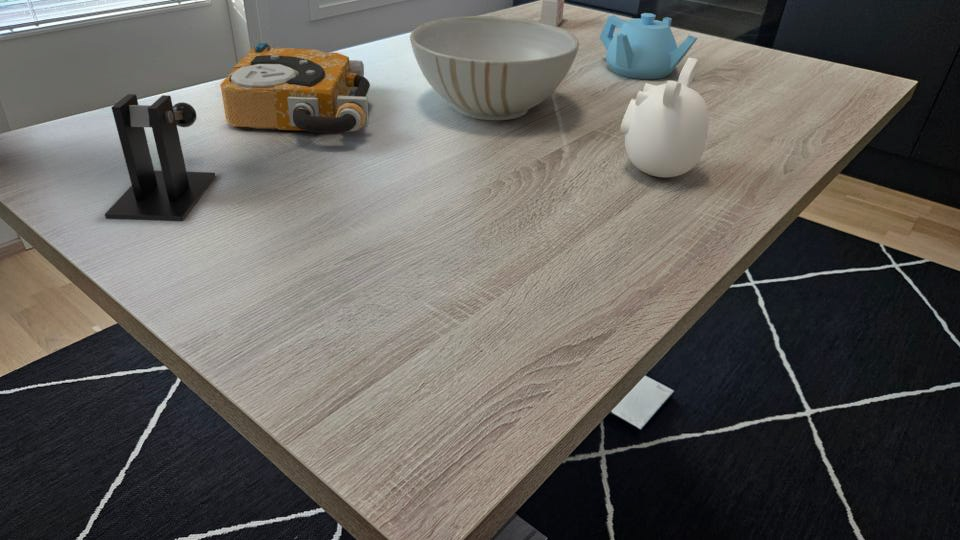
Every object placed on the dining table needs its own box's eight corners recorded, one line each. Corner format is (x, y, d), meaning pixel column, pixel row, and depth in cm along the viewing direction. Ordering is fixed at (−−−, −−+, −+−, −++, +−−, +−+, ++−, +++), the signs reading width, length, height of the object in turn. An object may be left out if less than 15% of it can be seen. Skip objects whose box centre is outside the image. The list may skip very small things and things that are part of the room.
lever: (176, 126, 94) (175, 102, 93) (200, 127, 94) (199, 102, 93) (126, 130, 80) (124, 101, 79) (154, 131, 80) (152, 102, 79)
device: (384, 41, 121) (359, 100, 96) (386, 88, 125) (362, 156, 100) (252, 36, 120) (192, 94, 95) (258, 83, 125) (202, 151, 100)
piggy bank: (614, 151, 105) (629, 50, 97) (694, 159, 103) (716, 58, 95) (613, 188, 95) (630, 78, 86) (701, 197, 93) (727, 87, 85)
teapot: (666, 59, 147) (676, 5, 141) (690, 82, 134) (702, 24, 128) (594, 58, 145) (601, 4, 139) (612, 81, 133) (620, 23, 127)
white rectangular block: (540, 26, 165) (544, -19, 160) (547, 20, 171) (551, -24, 165) (555, 28, 164) (559, -17, 159) (562, 21, 170) (566, -22, 164)
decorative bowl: (456, 152, 103) (457, 70, 96) (386, 94, 122) (384, 23, 115) (603, 125, 114) (614, 50, 107) (518, 76, 133) (522, 10, 127)
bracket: (147, 178, 92) (124, 82, 85) (216, 180, 92) (198, 85, 85) (106, 223, 82) (76, 118, 75) (184, 225, 82) (160, 121, 75)
